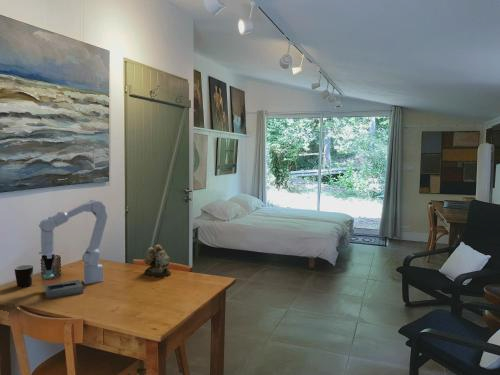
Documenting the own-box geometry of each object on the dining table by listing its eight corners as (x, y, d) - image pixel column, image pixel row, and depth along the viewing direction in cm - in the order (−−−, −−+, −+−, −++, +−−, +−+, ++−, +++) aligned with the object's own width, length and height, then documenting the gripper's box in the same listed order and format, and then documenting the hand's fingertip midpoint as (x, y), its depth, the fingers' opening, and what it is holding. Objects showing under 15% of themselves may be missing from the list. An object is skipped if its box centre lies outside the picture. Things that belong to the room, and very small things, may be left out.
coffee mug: (25, 289, 198) (24, 270, 197) (10, 288, 200) (10, 269, 199) (41, 282, 209) (41, 264, 209) (28, 281, 211) (27, 263, 210)
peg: (53, 274, 201) (53, 258, 200) (54, 277, 197) (54, 260, 196) (42, 276, 198) (42, 259, 198) (43, 278, 194) (42, 261, 193)
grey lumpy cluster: (137, 274, 225) (137, 245, 224) (151, 269, 235) (150, 241, 234) (163, 278, 217) (163, 248, 216) (175, 273, 228) (175, 244, 227)
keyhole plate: (79, 286, 204) (79, 279, 203) (83, 292, 194) (83, 286, 193) (44, 291, 195) (44, 284, 195) (47, 299, 185) (47, 292, 185)
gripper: (37, 241, 200) (38, 267, 201) (39, 246, 188) (40, 274, 189) (52, 239, 204) (53, 265, 205) (56, 245, 192) (56, 272, 193)
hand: (48, 269), depth 197 cm, fingers closed on peg, 2 cm apart
